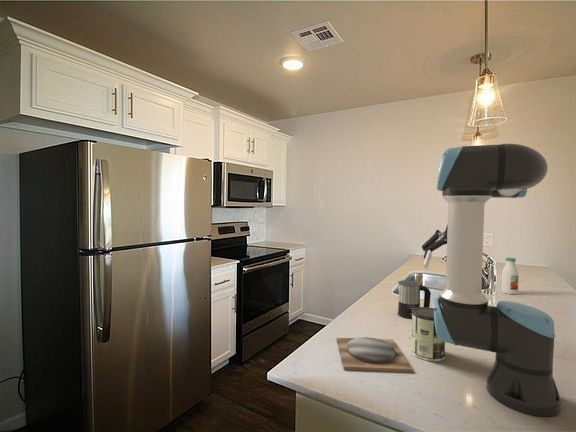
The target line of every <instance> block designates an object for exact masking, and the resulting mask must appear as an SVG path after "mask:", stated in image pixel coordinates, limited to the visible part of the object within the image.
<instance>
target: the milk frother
mask: <svg viewBox="0 0 576 432" xmlns="http://www.w3.org/2000/svg"><path fill="white" fill-rule="evenodd" d="M397 284H398V306H397V307H398V308H397V309H398V310H397V315H398V316H399V317H402V318H405V319H409V320H412V309H413V308H416V307H421V292H422V291H423V292H424V293H423V294H424V296H423V307H428V308H431V307H430V306H431V295H432V294H431V290H430V289H429V288H428V287H427V286H425V285H421V283H420V282H418V281H415V280H405V279H403V280H398V283H397Z"/></svg>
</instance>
